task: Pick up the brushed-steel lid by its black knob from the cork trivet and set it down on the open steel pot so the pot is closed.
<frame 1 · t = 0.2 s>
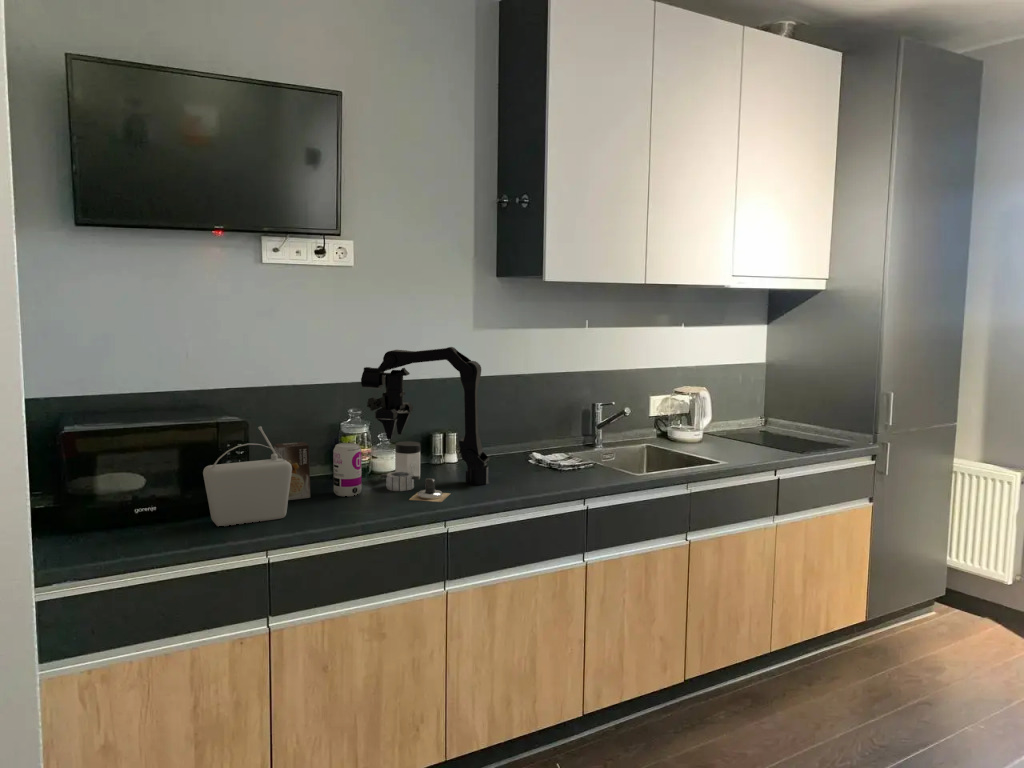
hand: (394, 436, 256), 14 cm above the worktop, tool pointing down, fingers open, 9 cm apart
radio: (248, 520, 211), on the worktop
trivet: (430, 499, 235), on the worktop
lid: (430, 496, 235), point 1 cm above the worktop, touching trivet
pot: (400, 490, 245), on the worktop
coffee box: (292, 498, 235), on the worktop
jar: (407, 480, 259), on the worktop
supplement can: (347, 494, 240), on the worktop
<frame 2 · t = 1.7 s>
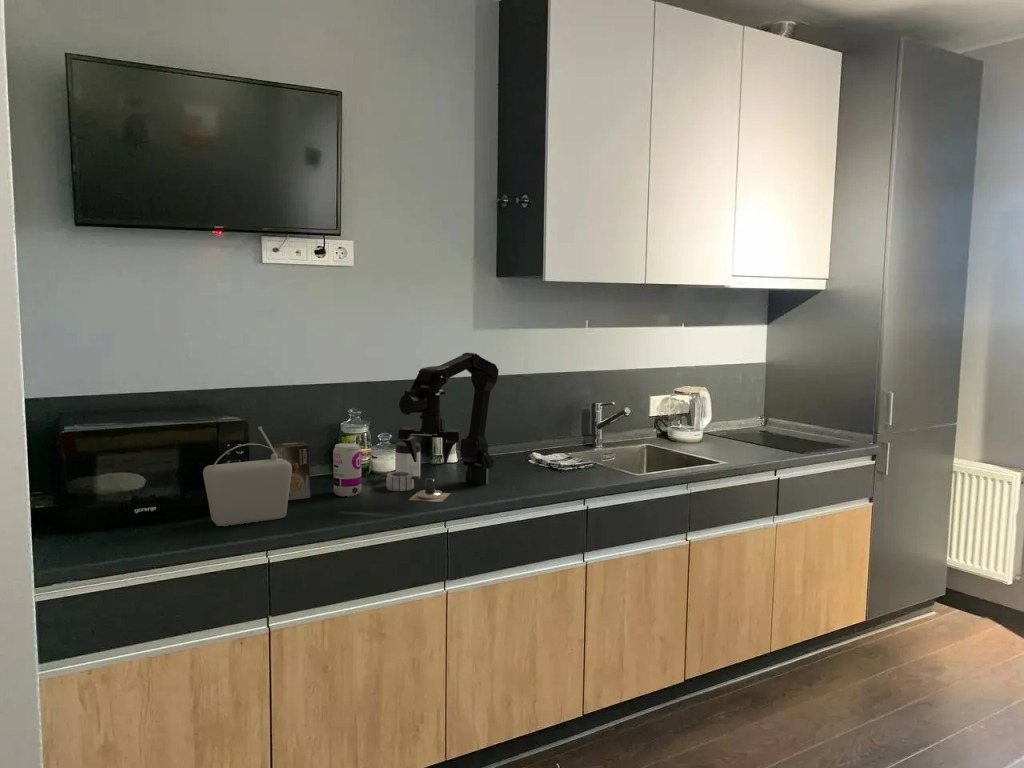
hand: (430, 462, 234), 11 cm above the worktop, tool pointing down, fingers open, 9 cm apart
nothing on the worktop moved.
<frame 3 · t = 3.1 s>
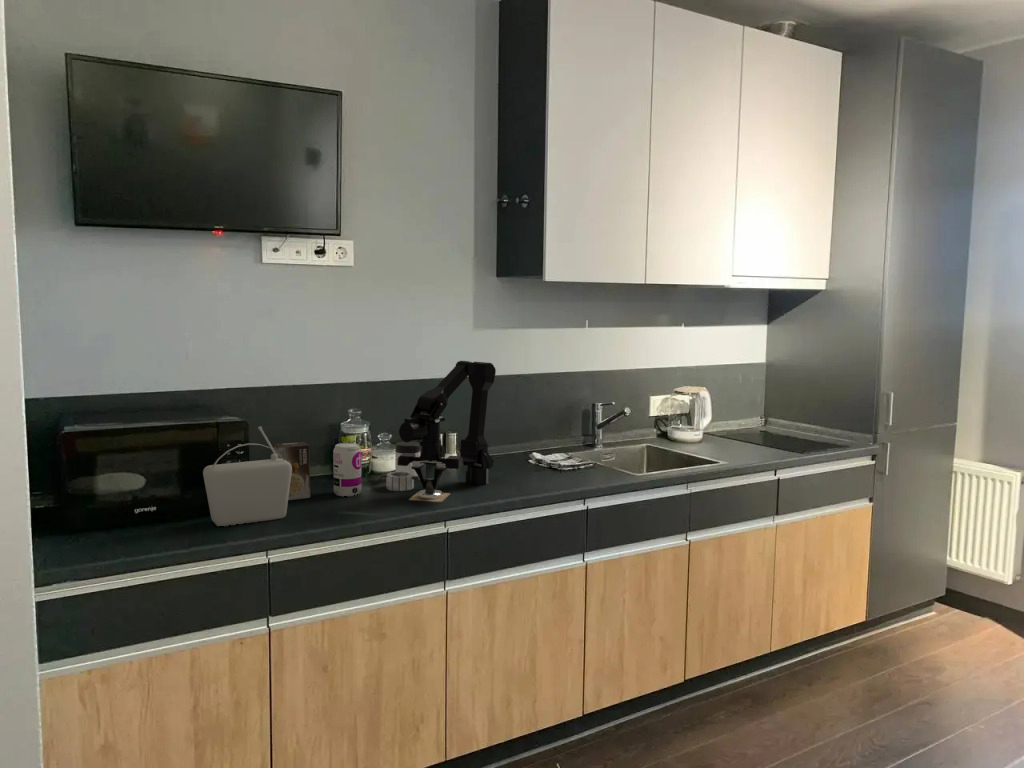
hand: (430, 489, 235), 3 cm above the worktop, tool pointing down, fingers closed on lid, 3 cm apart
lid: (430, 496, 235), point 1 cm above the worktop, touching gripper, trivet
everything else where it was.
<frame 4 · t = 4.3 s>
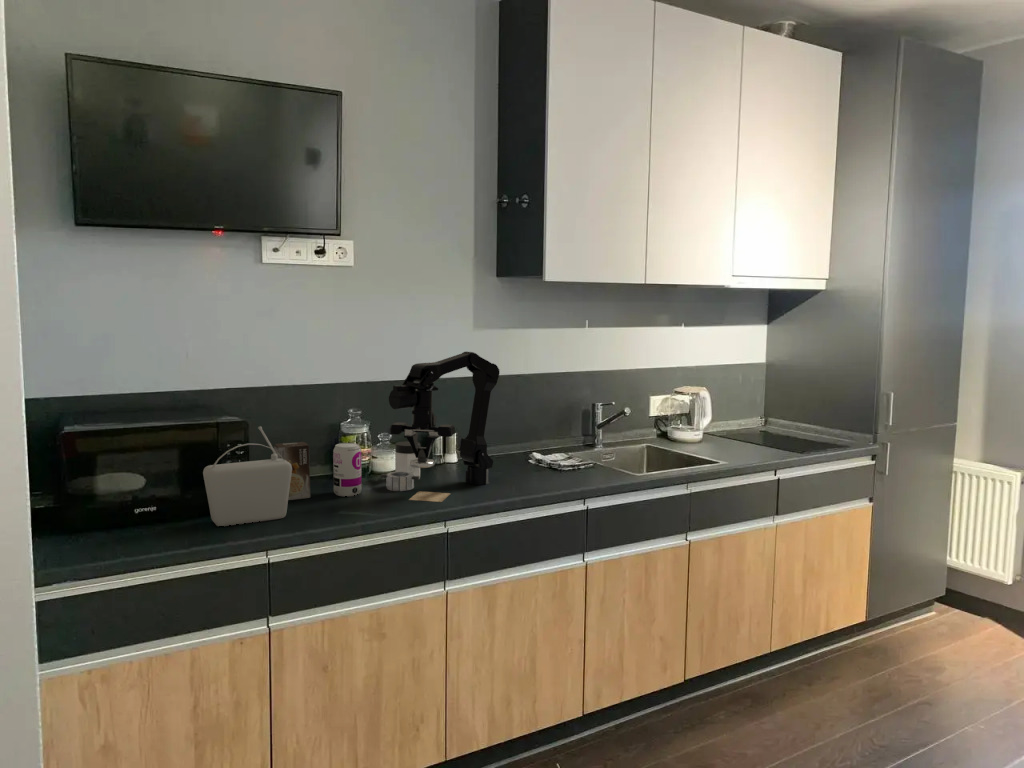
hand: (422, 457, 236), 12 cm above the worktop, tool pointing down, fingers closed on lid, 3 cm apart
lid: (422, 465, 237), point 10 cm above the worktop, touching gripper
everything else where it was.
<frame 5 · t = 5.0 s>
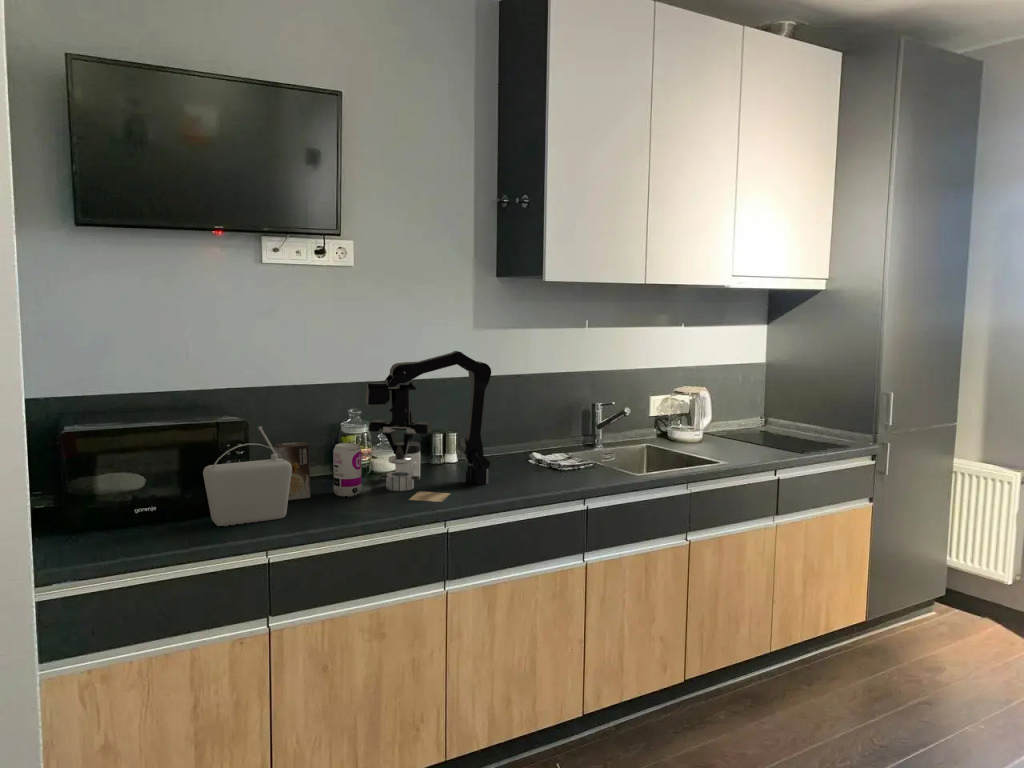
hand: (400, 454, 244), 11 cm above the worktop, tool pointing down, fingers closed on lid, 3 cm apart
lid: (400, 461, 244), point 9 cm above the worktop, touching gripper
everything else where it was.
when the fingers open (9 cm above the worktop, at t = 5.6 s): lid drops 1 cm, resting on pot.
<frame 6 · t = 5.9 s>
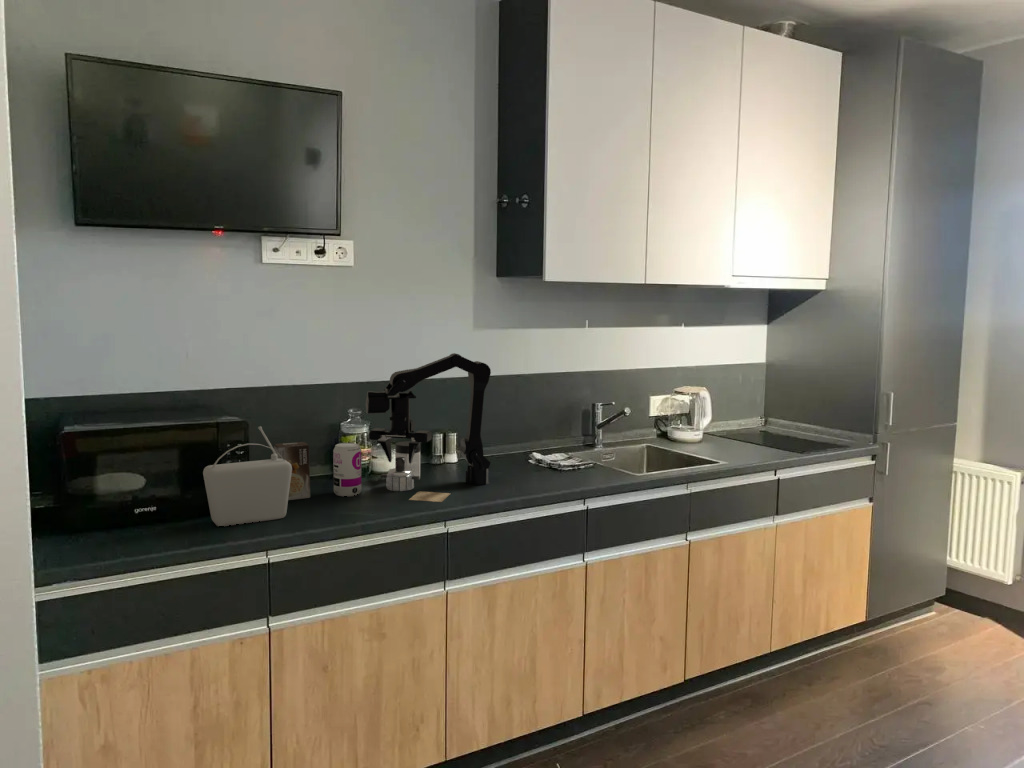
hand: (400, 462, 244), 9 cm above the worktop, tool pointing down, fingers open, 6 cm apart
lid: (400, 474, 245), point 5 cm above the worktop, touching pot
everything else where it was.
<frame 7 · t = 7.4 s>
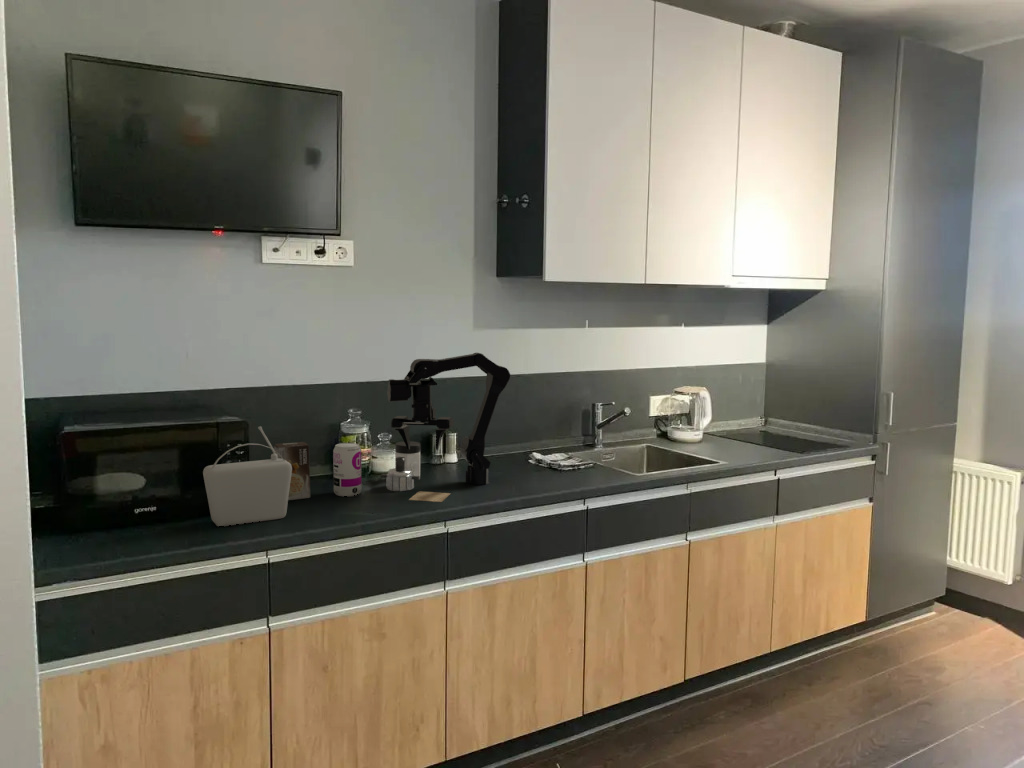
hand: (423, 449, 246), 13 cm above the worktop, tool pointing down, fingers open, 9 cm apart
nothing on the worktop moved.
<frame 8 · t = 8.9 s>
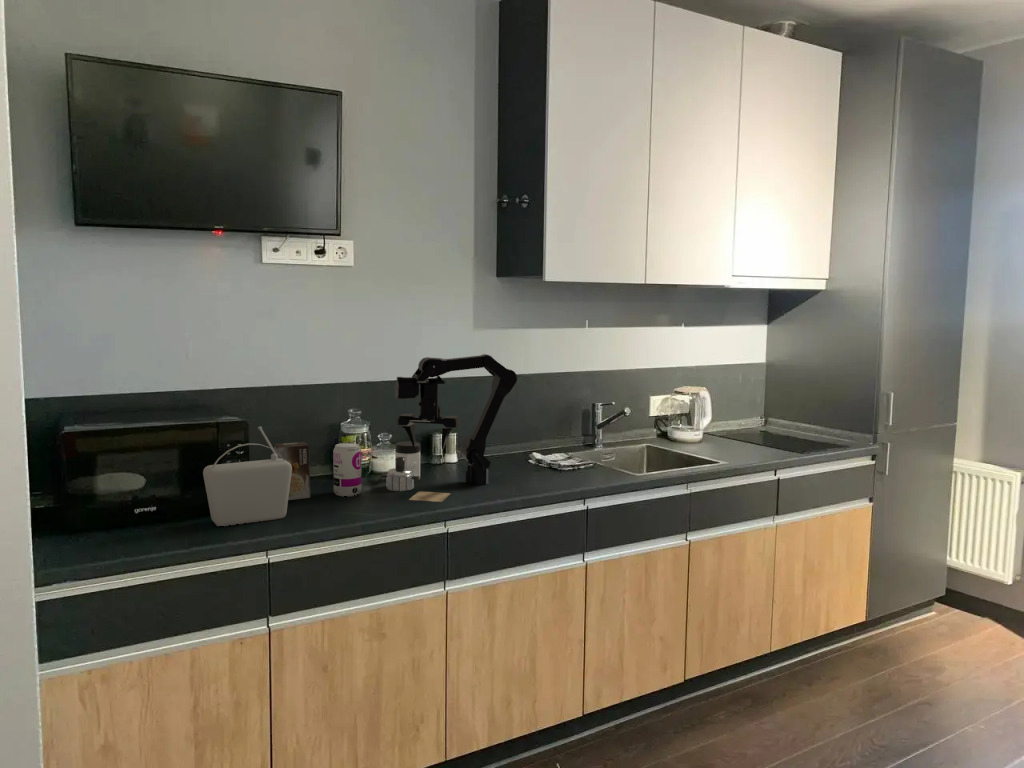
hand: (428, 447, 246), 13 cm above the worktop, tool pointing down, fingers open, 9 cm apart
nothing on the worktop moved.
at the end: lid 0.1 cm off-centre on the pot, point 5.0 cm above the pot's base; lid tilted 0°; the gripper is holding nothing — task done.
